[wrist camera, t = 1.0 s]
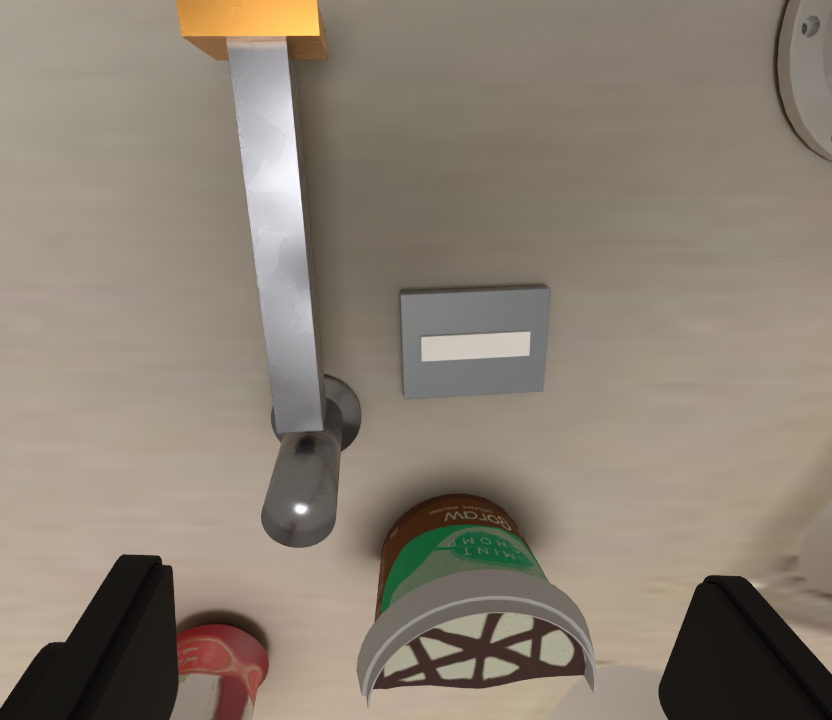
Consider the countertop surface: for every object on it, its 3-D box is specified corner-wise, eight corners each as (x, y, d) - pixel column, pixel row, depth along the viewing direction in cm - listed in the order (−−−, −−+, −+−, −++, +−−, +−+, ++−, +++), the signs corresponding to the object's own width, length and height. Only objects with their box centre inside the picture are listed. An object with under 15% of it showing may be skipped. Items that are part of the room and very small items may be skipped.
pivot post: (358, 372, 30) (356, 460, 21) (363, 449, 32) (363, 561, 23) (267, 377, 30) (227, 469, 21) (278, 455, 31) (244, 571, 22)
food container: (553, 474, 34) (625, 595, 24) (542, 553, 36) (605, 692, 26) (357, 480, 32) (354, 609, 23) (357, 561, 35) (356, 709, 25)
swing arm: (351, 396, 27) (349, 439, 23) (263, 401, 27) (244, 445, 22) (325, 30, 21) (316, -1, 17) (212, 31, 21) (176, -1, 17)
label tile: (545, 285, 29) (551, 289, 28) (538, 385, 31) (544, 392, 30) (399, 291, 29) (401, 296, 28) (403, 393, 31) (404, 400, 30)
